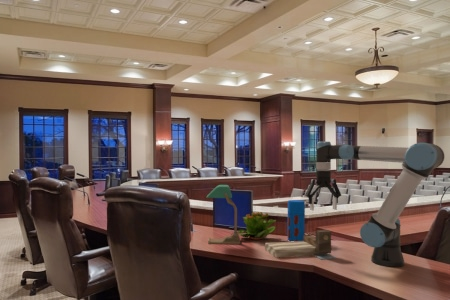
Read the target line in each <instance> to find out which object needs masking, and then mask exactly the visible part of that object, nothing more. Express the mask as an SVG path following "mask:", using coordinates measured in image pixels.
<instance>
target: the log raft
mask: <svg viewBox="0 0 450 300" xmlns="http://www.w3.org/2000/svg"><path fill="white" fill-rule="evenodd" d="M264 247H265V248H264V250H265V251H266V252H268V253H269V254H270V255H272V256H273V257H274V258H277V259H278V258H279V257H280V258H292V257H291V256H296V257H307V256H308V257H310V256H309V255H312V256H314V255H320V254H319V253H317V252H315V247H314V246H312V245H310V244H308V243H306V242H304V241H294V242H291V241H278V242H265V245H264ZM324 254H329V253H324ZM280 258H279V259H280Z"/></svg>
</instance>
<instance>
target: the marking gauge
mask: <svg viewBox="0 0 450 300" xmlns="http://www.w3.org/2000/svg"><path fill="white" fill-rule="evenodd" d="M314 234H315V235H314ZM314 234H313V235H312V234H311V233H310V232H308V233H307V234H305V235H303V241H304V242H306V243H308V244H310V245H312V246H314V247H315V252H317V253H319V254H324V253H328V254H331V253H332V231H331V230H329V229H319V230H317V229H316V230H315V233H314Z"/></svg>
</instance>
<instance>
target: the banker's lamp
mask: <svg viewBox="0 0 450 300" xmlns="http://www.w3.org/2000/svg"><path fill="white" fill-rule="evenodd" d="M232 198H233V194H232V190H231V188H230V186H229V185H228V184H218V185H217V186H216V187H214V188H213V189H212V190H211V191H210V192H209V193H208V194H207V196H206V199H226V202H227V204H229V205H231V206H232V207H233V209H234V210H233V211H234V219H233V220H234V221H233V222H234V226H233V227H234V231H233V232H232V233H231V235H226V236H225V237H223V238H211V237H209V238H208V240H207V241H208V244H209V245H241V237H240V235H239V234H238V232H237V231H238V208H237V206H236V204H235V203H234V201H233V200H232Z"/></svg>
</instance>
